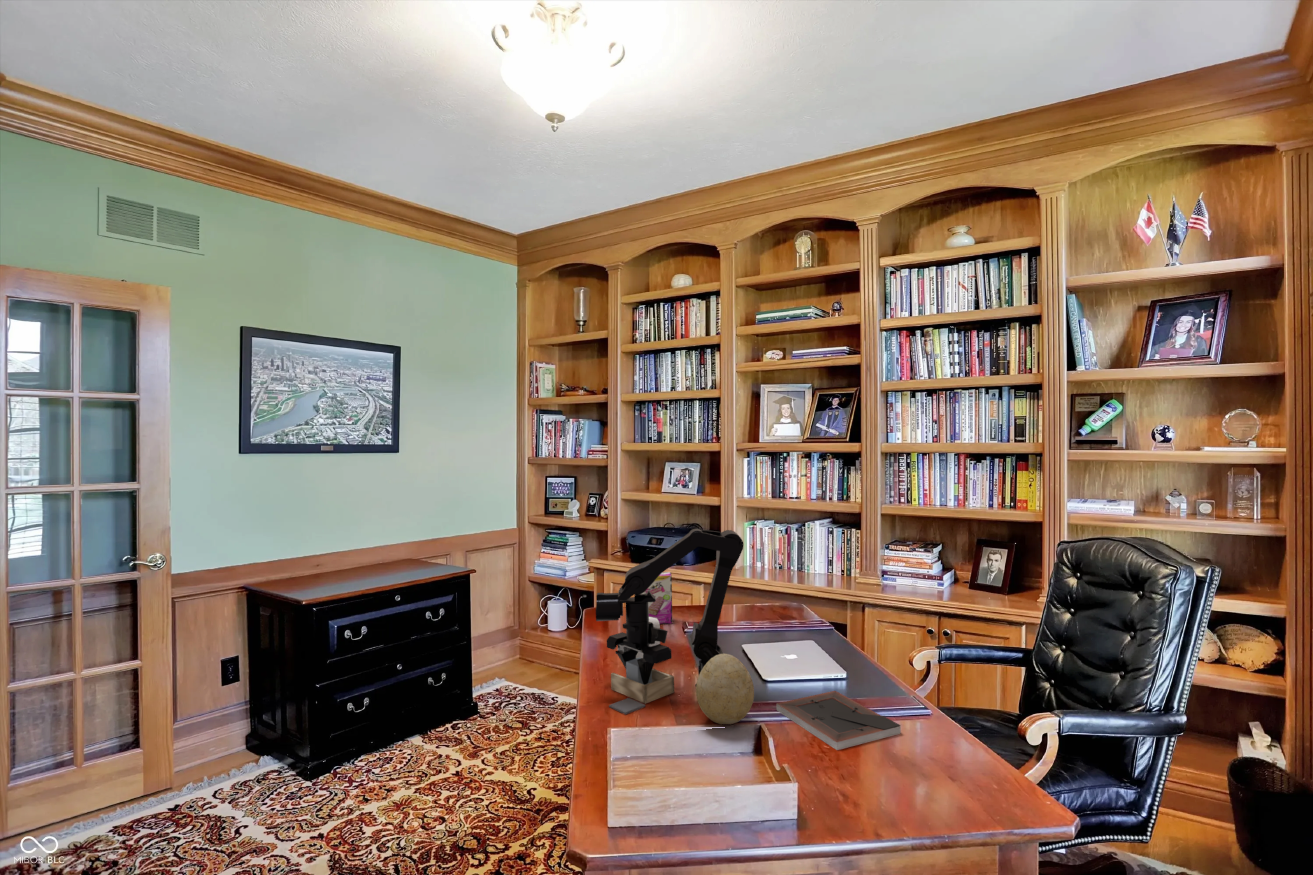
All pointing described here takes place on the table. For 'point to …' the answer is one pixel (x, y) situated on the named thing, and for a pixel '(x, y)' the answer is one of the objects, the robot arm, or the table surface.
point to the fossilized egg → (725, 689)
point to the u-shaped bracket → (644, 686)
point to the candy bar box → (661, 598)
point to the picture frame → (838, 719)
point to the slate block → (635, 671)
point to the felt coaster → (627, 706)
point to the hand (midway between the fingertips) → (639, 681)
